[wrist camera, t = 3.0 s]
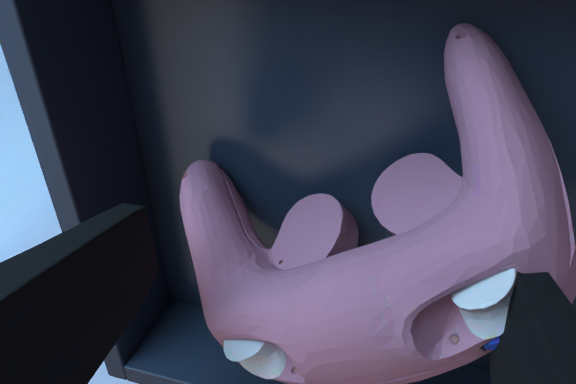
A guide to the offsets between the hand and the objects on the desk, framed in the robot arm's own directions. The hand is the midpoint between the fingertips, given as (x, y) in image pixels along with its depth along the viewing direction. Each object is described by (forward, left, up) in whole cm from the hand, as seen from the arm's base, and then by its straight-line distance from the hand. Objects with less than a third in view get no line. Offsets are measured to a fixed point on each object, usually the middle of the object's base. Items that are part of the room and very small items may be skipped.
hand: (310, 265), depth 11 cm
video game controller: (0, 0, -5) cm, 5 cm away
